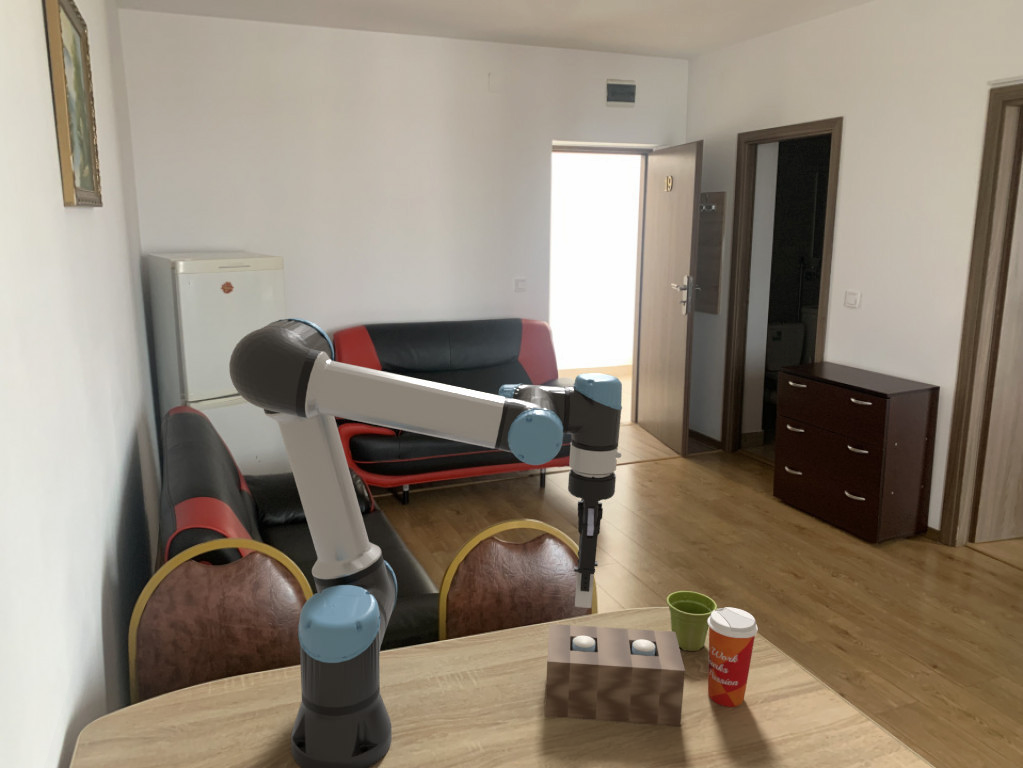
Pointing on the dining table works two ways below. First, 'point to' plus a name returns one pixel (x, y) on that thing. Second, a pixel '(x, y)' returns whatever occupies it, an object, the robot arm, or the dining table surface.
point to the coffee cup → (729, 654)
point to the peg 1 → (583, 644)
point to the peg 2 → (643, 648)
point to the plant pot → (690, 618)
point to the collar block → (614, 676)
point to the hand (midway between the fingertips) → (583, 605)
